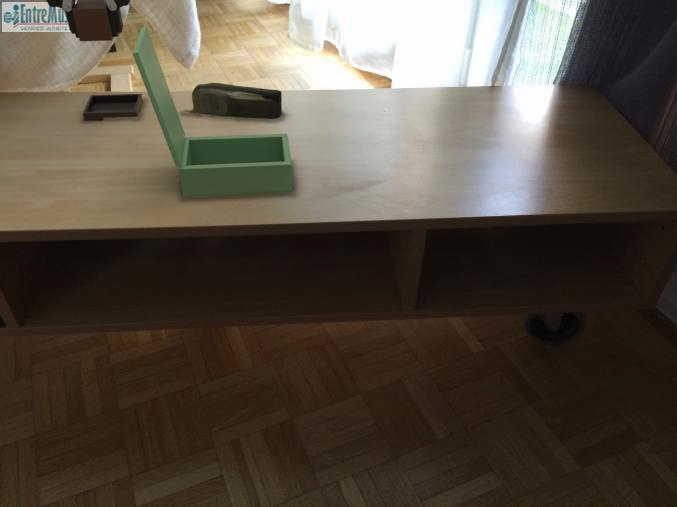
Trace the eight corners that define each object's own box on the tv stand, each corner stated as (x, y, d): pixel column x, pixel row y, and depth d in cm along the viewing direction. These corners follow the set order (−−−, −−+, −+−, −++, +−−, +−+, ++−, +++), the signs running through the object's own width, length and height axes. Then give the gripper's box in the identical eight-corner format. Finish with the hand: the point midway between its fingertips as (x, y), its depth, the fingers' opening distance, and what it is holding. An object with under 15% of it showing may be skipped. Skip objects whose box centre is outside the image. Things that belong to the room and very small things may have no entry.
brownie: (79, 41, 86) (71, 9, 83) (85, 30, 89) (78, -1, 86) (112, 40, 86) (105, 8, 83) (116, 29, 90) (110, -2, 87)
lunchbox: (288, 164, 84) (287, 133, 81) (292, 196, 78) (291, 164, 75) (188, 168, 83) (183, 137, 80) (184, 202, 77) (178, 168, 74)
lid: (146, 26, 71) (141, 27, 71) (137, 52, 64) (132, 53, 64) (185, 134, 80) (180, 135, 80) (180, 165, 73) (176, 166, 73)
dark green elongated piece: (282, 86, 93) (184, 78, 93) (279, 94, 91) (179, 87, 91) (282, 116, 96) (187, 109, 96) (279, 125, 94) (182, 117, 94)
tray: (85, 123, 92) (82, 113, 91) (92, 104, 97) (90, 95, 96) (138, 121, 93) (136, 111, 92) (143, 102, 98) (141, 93, 97)
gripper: (130, -106, 81) (152, 25, 91) (16, -106, 79) (52, 27, 90) (122, -95, 75) (146, 44, 86) (-1, -95, 73) (39, 46, 84)
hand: (98, 35), depth 88 cm, fingers closed on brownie, 4 cm apart
